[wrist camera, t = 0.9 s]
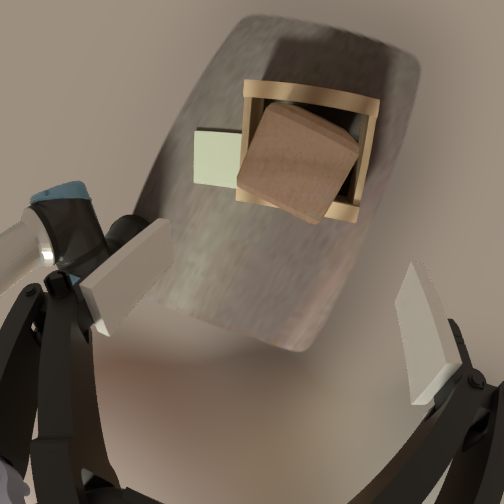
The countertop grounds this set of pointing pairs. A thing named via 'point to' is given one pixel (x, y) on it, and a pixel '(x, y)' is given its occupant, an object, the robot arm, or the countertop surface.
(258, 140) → the wooden block
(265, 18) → the countertop surface
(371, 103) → the crate
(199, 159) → the mat
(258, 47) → the countertop surface
